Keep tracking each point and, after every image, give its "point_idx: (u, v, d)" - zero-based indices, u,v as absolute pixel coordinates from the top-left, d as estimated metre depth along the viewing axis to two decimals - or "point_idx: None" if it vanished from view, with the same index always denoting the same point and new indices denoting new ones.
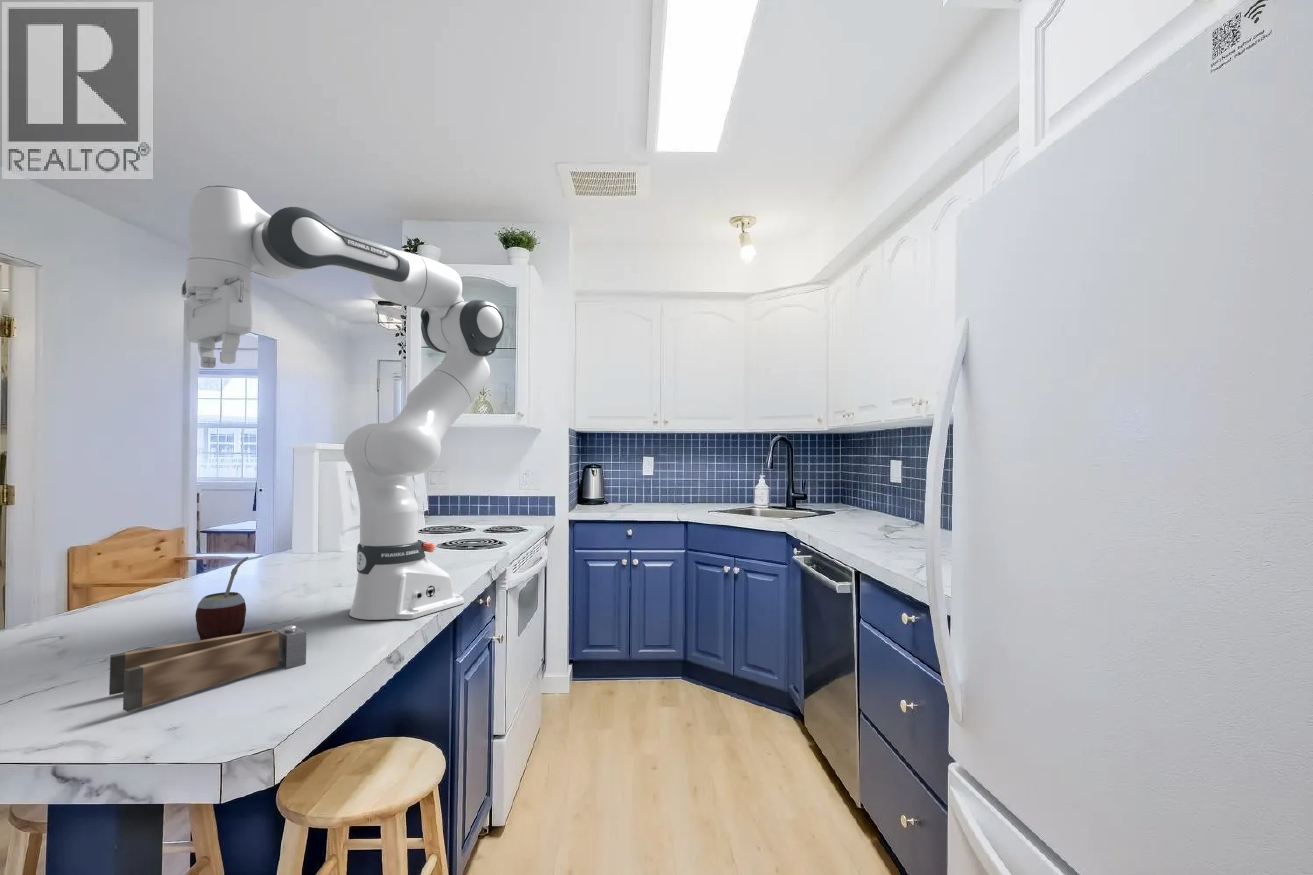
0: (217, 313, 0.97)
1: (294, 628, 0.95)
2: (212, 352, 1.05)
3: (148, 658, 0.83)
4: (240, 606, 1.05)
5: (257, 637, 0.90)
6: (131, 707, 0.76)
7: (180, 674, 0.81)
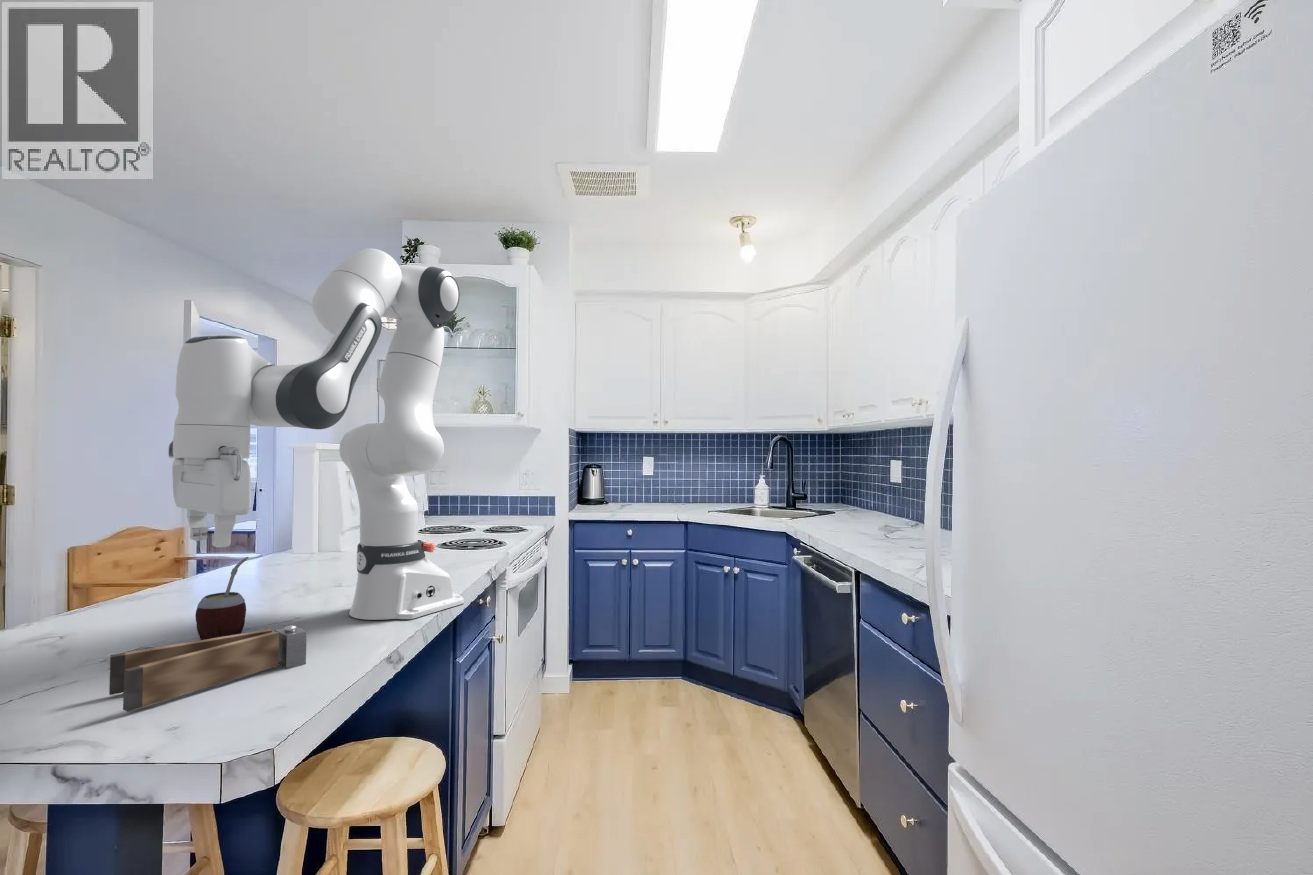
0: (209, 491, 0.82)
1: (294, 628, 0.95)
2: (204, 520, 0.90)
3: (148, 658, 0.83)
4: (240, 606, 1.05)
5: (257, 637, 0.90)
6: (131, 707, 0.76)
7: (180, 674, 0.81)
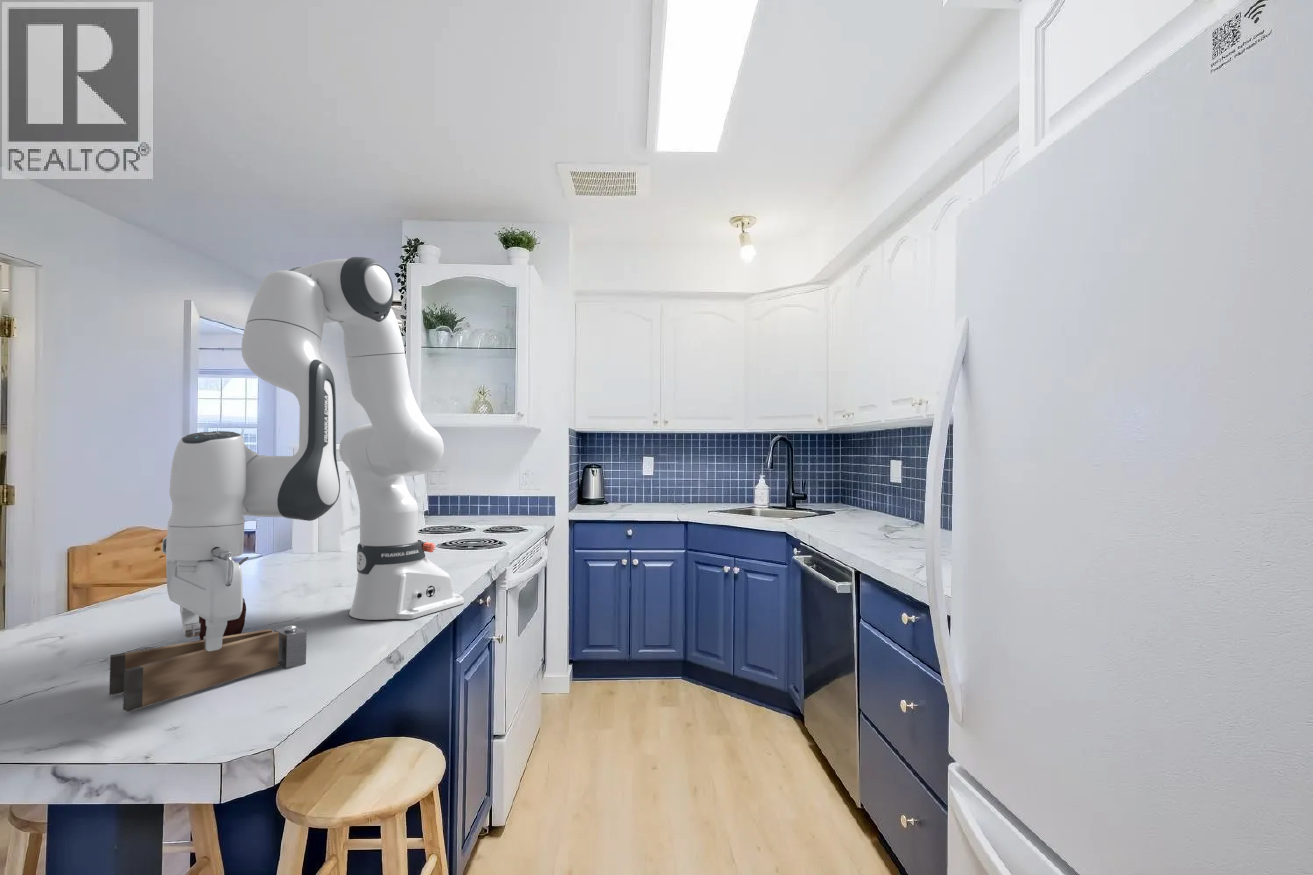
0: (200, 595, 0.81)
1: (294, 628, 0.95)
2: (197, 615, 0.90)
3: (148, 658, 0.83)
4: None
5: (257, 637, 0.90)
6: (131, 707, 0.76)
7: (180, 674, 0.81)
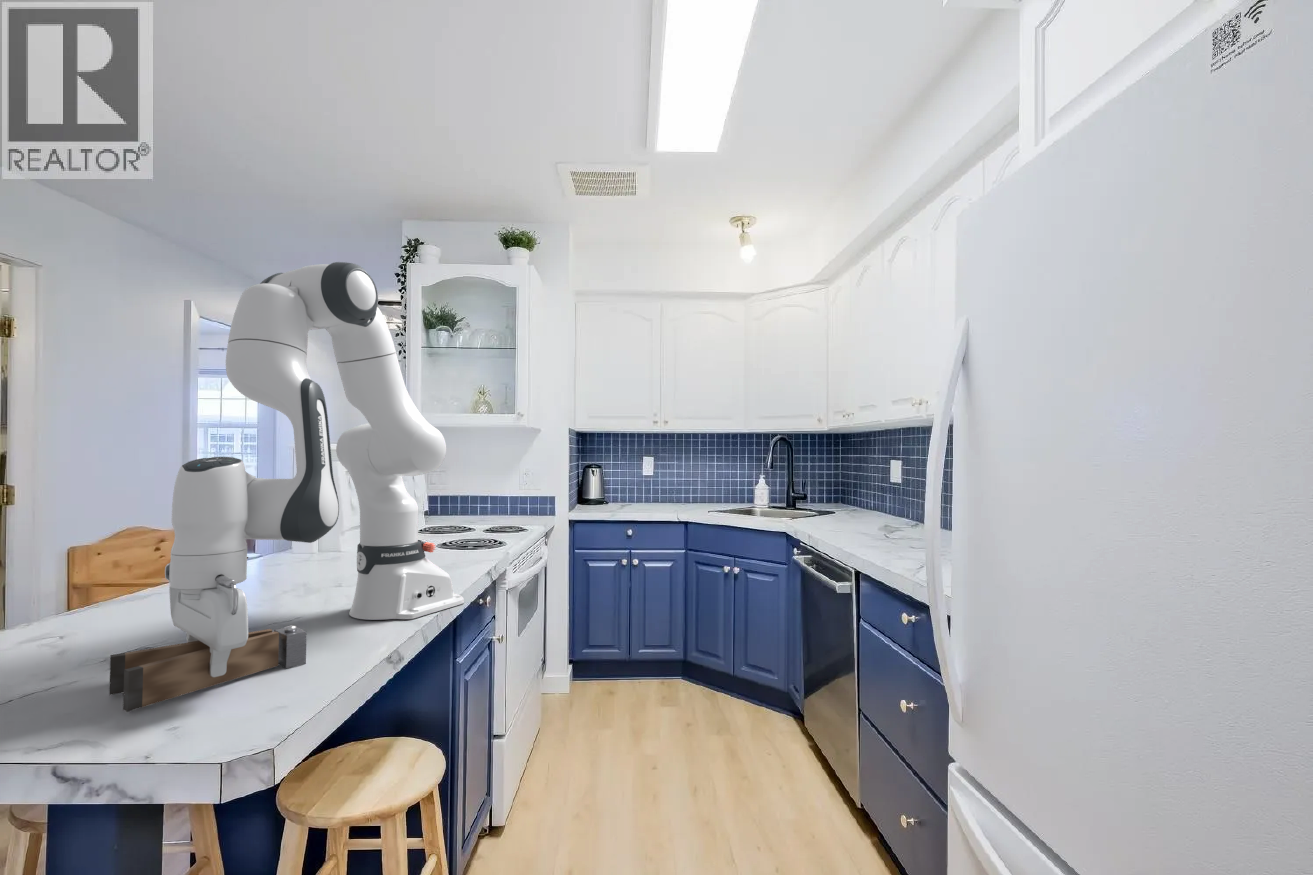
0: (206, 623, 0.82)
1: (294, 628, 0.95)
2: None
3: (148, 658, 0.83)
4: None
5: (257, 637, 0.90)
6: (131, 707, 0.76)
7: (180, 674, 0.81)
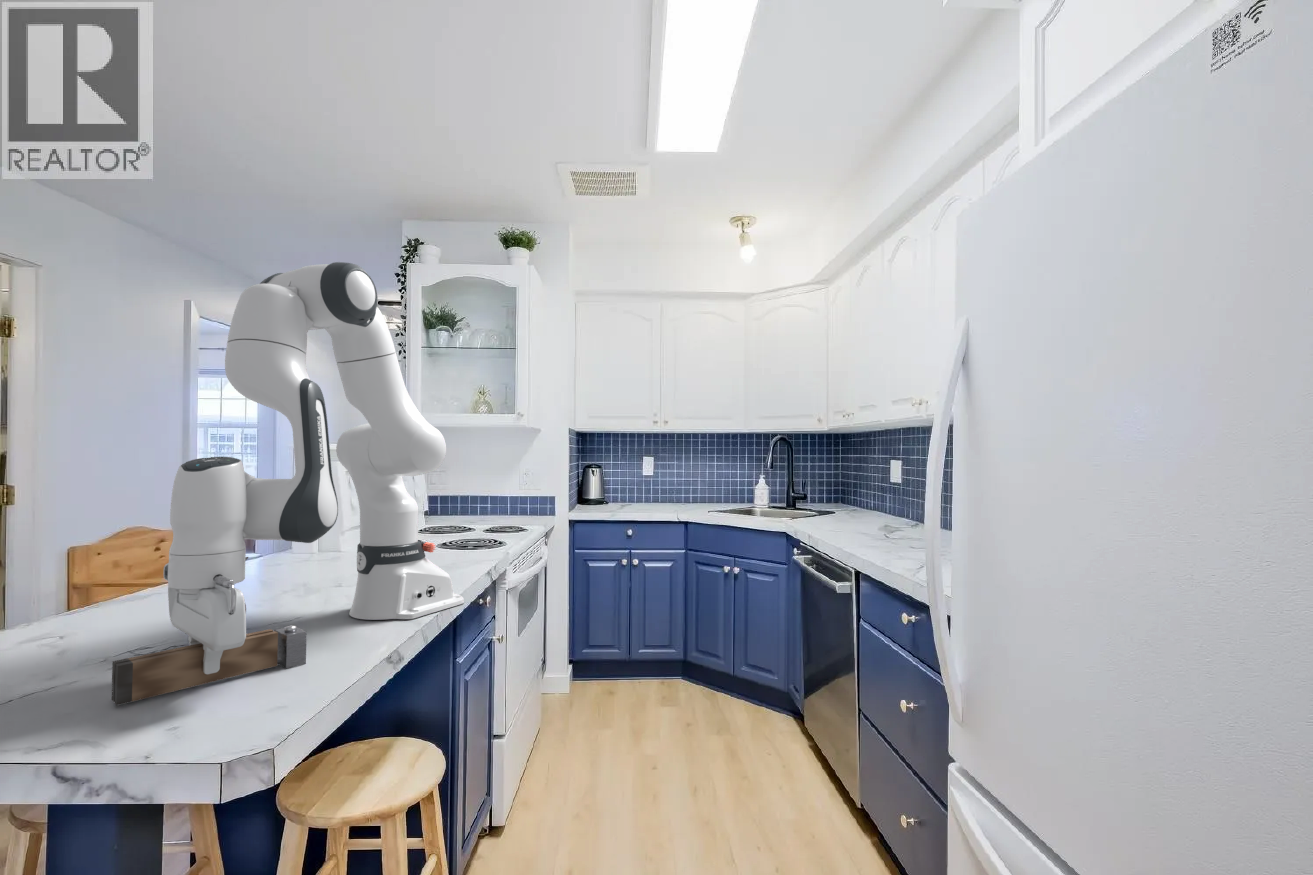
0: (204, 623, 0.81)
1: (294, 628, 0.95)
2: None
3: None
4: None
5: (255, 636, 0.90)
6: (120, 701, 0.78)
7: (171, 670, 0.82)
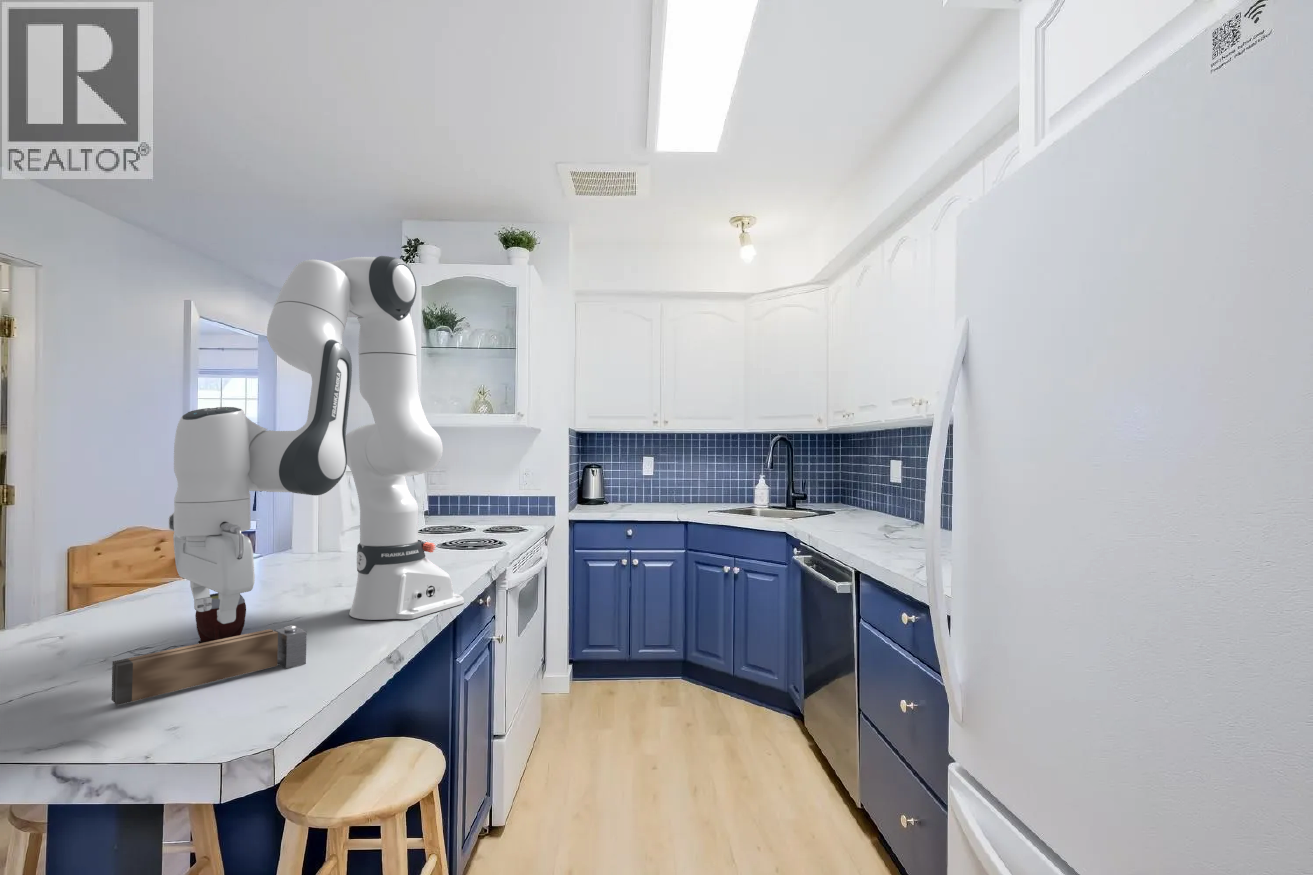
0: (212, 569, 0.82)
1: (294, 628, 0.95)
2: (207, 589, 0.91)
3: None
4: (240, 606, 1.05)
5: (255, 636, 0.90)
6: (120, 701, 0.78)
7: (171, 670, 0.82)
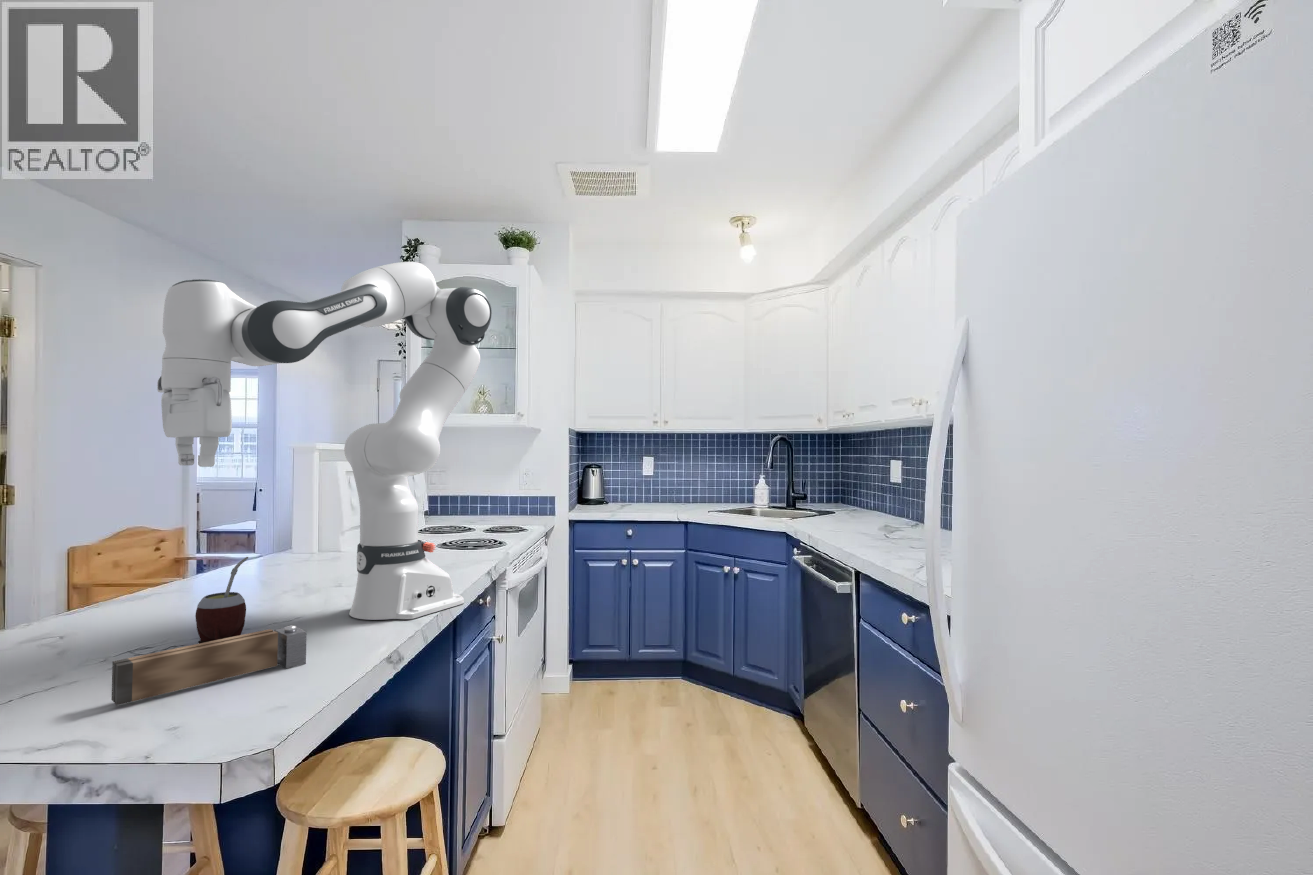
0: (194, 417, 0.93)
1: (294, 628, 0.95)
2: (190, 448, 1.01)
3: None
4: (239, 606, 1.05)
5: (255, 636, 0.90)
6: (120, 701, 0.78)
7: (171, 670, 0.82)
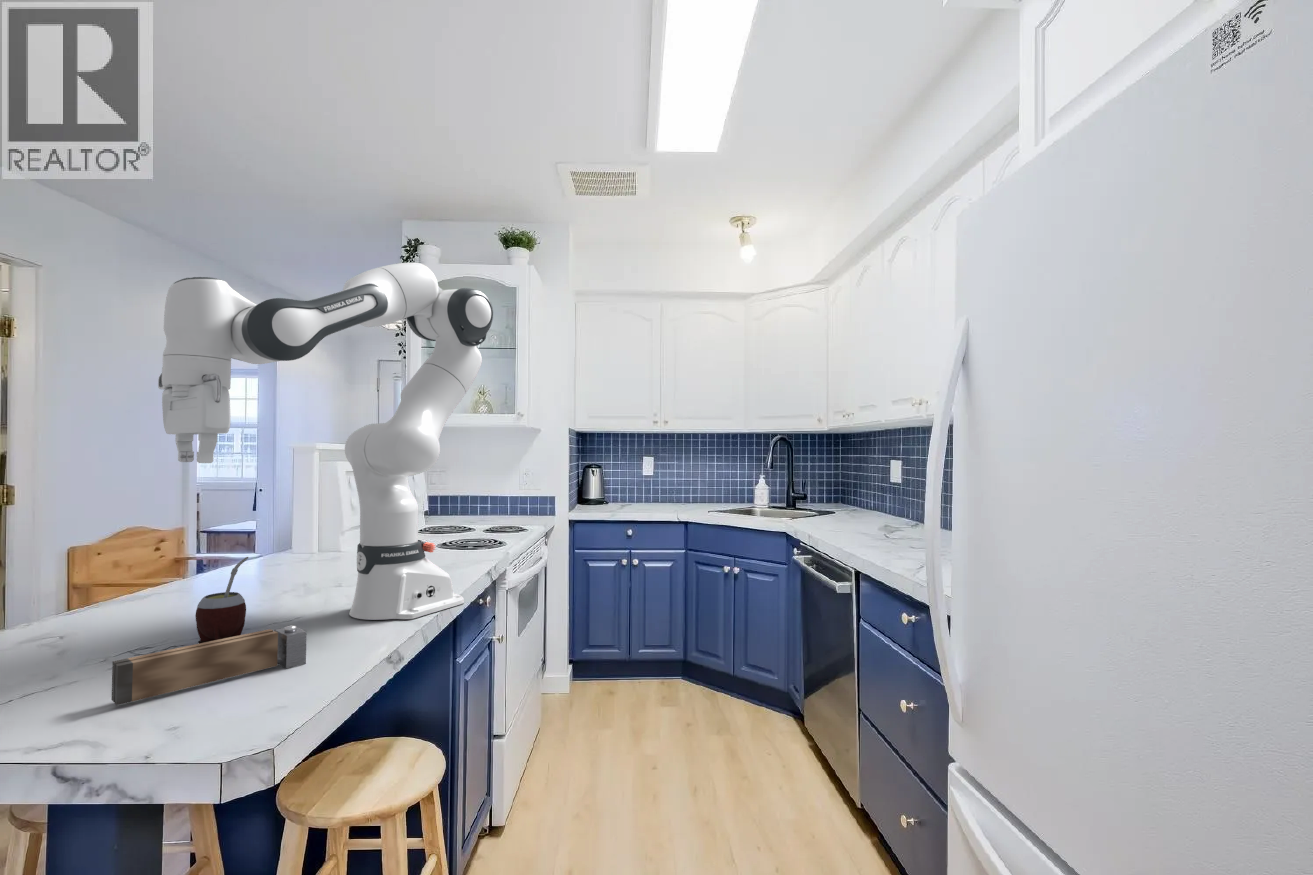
0: (193, 413, 0.93)
1: (294, 628, 0.95)
2: (190, 445, 1.01)
3: None
4: (240, 606, 1.05)
5: (255, 636, 0.90)
6: (120, 701, 0.78)
7: (171, 670, 0.82)
